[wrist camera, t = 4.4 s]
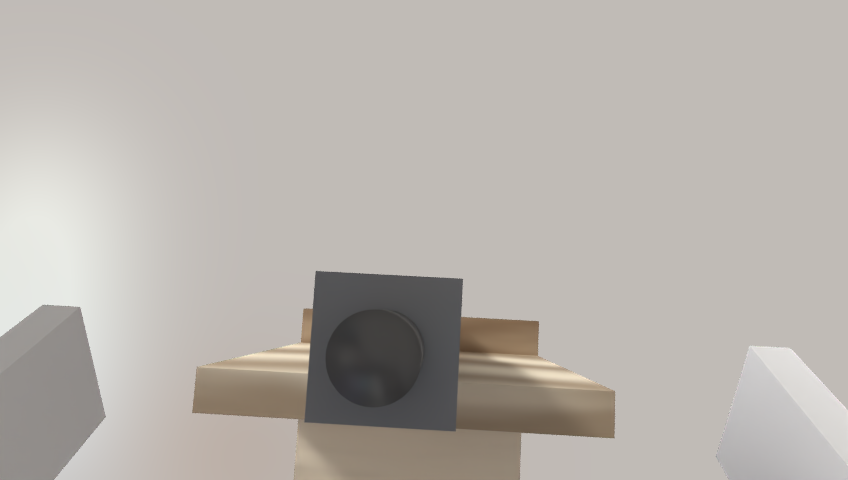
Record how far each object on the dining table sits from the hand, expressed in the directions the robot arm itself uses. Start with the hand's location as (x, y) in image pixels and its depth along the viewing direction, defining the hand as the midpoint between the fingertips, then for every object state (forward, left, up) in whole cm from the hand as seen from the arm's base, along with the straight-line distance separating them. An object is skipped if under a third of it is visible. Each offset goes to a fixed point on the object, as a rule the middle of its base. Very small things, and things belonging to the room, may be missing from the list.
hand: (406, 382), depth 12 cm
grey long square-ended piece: (-8, +7, -1) cm, 11 cm away
